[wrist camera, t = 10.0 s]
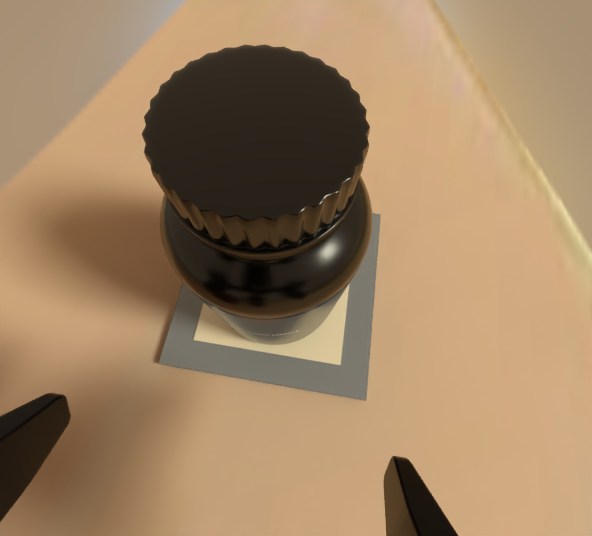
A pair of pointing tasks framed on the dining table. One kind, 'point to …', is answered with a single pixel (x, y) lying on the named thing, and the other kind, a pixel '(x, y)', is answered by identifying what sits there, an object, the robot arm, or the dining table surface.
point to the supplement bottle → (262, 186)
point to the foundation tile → (287, 357)
